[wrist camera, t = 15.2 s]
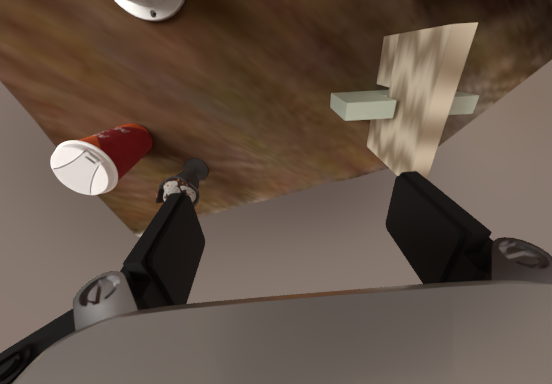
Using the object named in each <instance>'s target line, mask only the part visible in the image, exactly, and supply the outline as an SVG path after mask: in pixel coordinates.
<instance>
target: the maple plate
mask: <svg viewBox="0 0 552 384" xmlns="http://www.w3.org/2000/svg"><path fill="white" fill-rule="evenodd" d="M477 25H478V22H476V23H460V24H450V25H445V26H439V27H434V28H428V29H422V30H417V31H411V32H406V33H400V34H395V35H389V36H384V40H383V47H382V53H381V59H380V65H379V72H378V78H377V84H378V85H382V86H386V87H389V91H388V97H389V98H392V99H394V100H397V101H396V106H395V111H394V115H393V118H387V119H371V122H370V128H369V135H368V141H367V147H368V148H369V149H370V150H371V151H372V152H373V153H374V154H375V155H376V156H377V157H378V158H379V159H380V160H381V161H382V162H383V163H384V164H386V165H387V166H388V167H389V168H390V169H391V170H392V171H393V172H394V173H395V174H396V175H397V176H399V175H400V173H402V172H410V171H417V172H418V173H420V174H421V175H422V176H423V177H425V178H426V179H427V178H428V175H429V172H430V169H431V166H432V162H433V160H434V156H435V153H436V150H437V147H438V144H439V141H440V138H441V135H442V132H443V129H444V126H445V123H446V120H447V117H448V114H449V111H450V108H451V105H452V102H453V98H454V95H455V92H456V89H457V86H458V83H459V80H460V77H461V74H462V71H463V68H464V65H465V62H466V59H467V56H468V53H469V50H470V46H471V43H472V40H473V37H474V34H475V31H476V28H477Z"/></svg>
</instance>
